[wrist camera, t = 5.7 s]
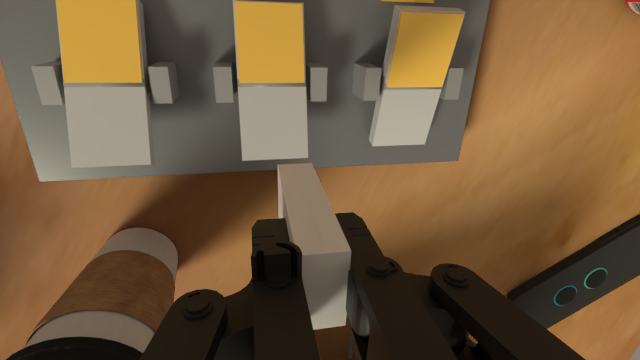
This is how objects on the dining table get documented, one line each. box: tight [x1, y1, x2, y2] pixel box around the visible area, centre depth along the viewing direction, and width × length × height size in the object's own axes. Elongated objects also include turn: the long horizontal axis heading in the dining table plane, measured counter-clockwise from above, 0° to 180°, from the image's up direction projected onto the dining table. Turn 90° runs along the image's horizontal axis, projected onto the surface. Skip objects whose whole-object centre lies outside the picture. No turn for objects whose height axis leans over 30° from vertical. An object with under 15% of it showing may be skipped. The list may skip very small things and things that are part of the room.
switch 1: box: [56, 0, 155, 168], centre depth 20 cm, size 4×9×1 cm, turn 178°
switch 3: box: [369, 5, 466, 146], centre depth 23 cm, size 4×9×1 cm, turn 178°
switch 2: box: [233, 0, 308, 161], centre depth 21 cm, size 4×9×1 cm, turn 178°
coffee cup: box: [6, 228, 178, 360], centre depth 23 cm, size 8×8×15 cm
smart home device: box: [507, 215, 640, 329], centre depth 42 cm, size 8×2×20 cm
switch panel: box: [0, 0, 490, 182], centre depth 24 cm, size 30×13×6 cm, turn 88°
